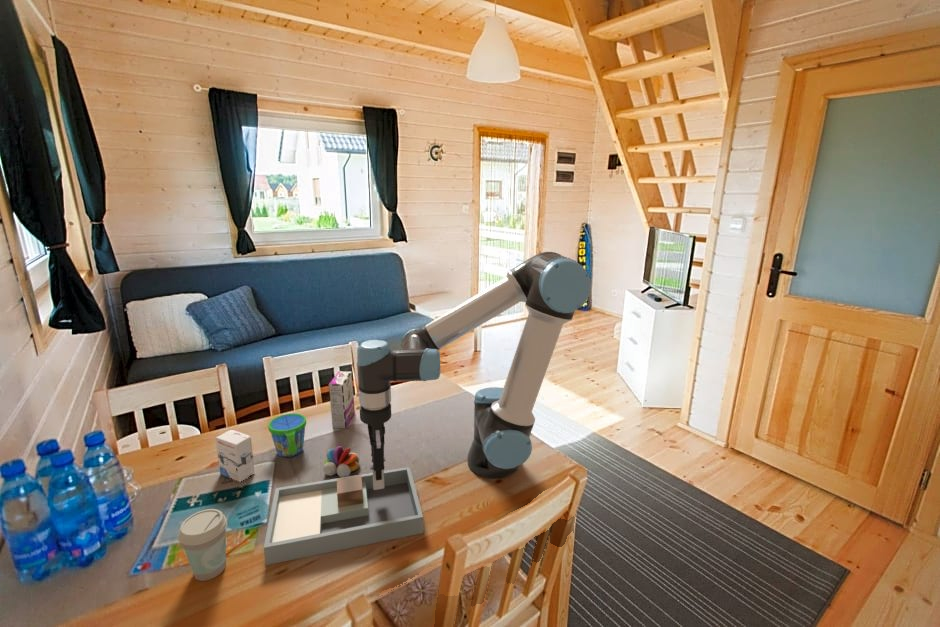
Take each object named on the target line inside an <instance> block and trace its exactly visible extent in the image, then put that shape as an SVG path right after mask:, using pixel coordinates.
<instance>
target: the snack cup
mask: <svg viewBox="0 0 940 627" xmlns="http://www.w3.org/2000/svg"><path fill="white" fill-rule="evenodd" d="M306 425H307V418H306V417H305V416H304V415H303V414H300V413H295V412H294V413H285V414H280V415H278V416H276V417H274V418H273V419H271V420H270V421H269V423H268V425H267V426H268V431H269V433H270V434H271V438H272V441H273V444H274V448H275V451H276V454H277V455H278V456H279V457H280V458H281V457H284V458H291V457H294V456H296V455H298V454H300V453H301V452H303V450H304V445H305V433H306Z"/></svg>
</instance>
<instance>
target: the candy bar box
mask: <svg viewBox="0 0 940 627" xmlns="http://www.w3.org/2000/svg"><path fill="white" fill-rule="evenodd" d="M353 386H354V385H353V373H352V371H348V370H347V371H346V370H339V371H338V372H337V373H336V374H335V376H334V377H333V378H332V379H331V381H330V382H329V383H328V390H329V391H328V392H329V401H330V409H331V410H330V412H331V424H332V425H331V426H332V429H338V430H339V429H340V430H341V429H343V430H344V429H345V430H346V429H347V428H348V426H349V424H350V422H351V420H352V418H353V417H354V415H355V413H356V411H355V398H354V387H353Z"/></svg>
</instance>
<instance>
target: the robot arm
mask: <svg viewBox="0 0 940 627" xmlns="http://www.w3.org/2000/svg"><path fill="white" fill-rule="evenodd" d="M591 288H592V287H591V279H590V276H589V274H588V272H587V270H586V269H585V268H584V266H582V265H581V264H580V263H579V262H577V260H575V259H572V258H570V257H566V256H564V255H562V254H560V253H558V252H554V251H544V252H540V253H538V254H537V253H536V254H535V255H533V256H531V257H529V258H528V259H526V260H524V261H523V262H521V263H519V264H517V265H516V266H515V267H513V268H511V269H510V270H508V271H507V274H506V276H505V277H504V278H502V279H501V280H499V281H497V282H496V283H493V284H492V285H491V286H489V287H487V288H485V289H484V290H482V291H480V292H479V293H478V294H476V295H473V296H472V297H471V298H469V299H467V300H465V301H464V302H462V303H460V304H458V305H457V306H455V307H454V308H452V309H450V310H449V311H446V312H445V313H444V314H442V315H440V316H439V317H437V318H435V319H433V320H432V321H430V322H429V323H427V324H426V325H423V326H422V327H420V328H411V329H409V330H408V331H407V332H406V333H405V334H404V335H403V337H402V340H401V344H400V345H401V349H391V347H390V344H389V343H388V341H385V340H383V339H382V340H381V339H369V340H365V341H362V342H361V343H360V344H359V345H358V346H357V348H356V354H357V355H356V370H357V383H358V385H357V386H358V392H356V393H355V395H356V397H358V400H359V407H358V408H359V419H360V422H361V423H363V424H365V425H367V431H368V437H369V438H368V439H369V443H370V447H371V448H370V451H371V453H370V456H371V457H372V458H371V463H372V465H369V470H372V472H371V473H373V489H374V490H378V489H384V471H385V462H386V458H385V435H386V426H385V423H387V422H388V421H390V420H391V418H392V387H391V386H392V385H391V383H392V382H428V381H436V380H438V379H439V378H440V377H441V354H440V350H441V349H442V348H444V347H445V346H448V345H449V344H451V343H453V342H454V341H456V340H458V339H460V338H461V337H463V336H465V335H466V334H469V333H470V332H472V331H473V330H475V329H476V328H478V327H480V326H482V325H483V324H485V323H487V322H488V321H491V320H492V319H493V318H495V317H497V316H498V315H500V314H502V313H504V312H506V311H507V310H509V309H511V308H512V307H513V306H516V305H517V304H519V303H521V302H522V303H525V308H526V309H527V311H528V315H527V317H526V319H525V320H526V321H525V323H524V326H523V329H522V333H521V335H520V338H519V341H518V344H517V348H516V350H515V352H514V356H513V359H512V362H511V365H510V367H509V371H508V374H507V376H506V380H505V382H504V385H503V387H496V386H493V387H485V388H482V389H479V390H477V392H475V394H474V400H473V404H474V407H473V408H474V410H473V411H474V412H473V413H474V416H473V417H474V418H473V440H472V442H471V445H470V447H469V450H468V453H467V466H468V469H470V471H471V472H473V473H474V472H475V474H476V473H477V474H476V475H478V474H479V475H478V476H480V475H481V477H483V476H484V478H489V479H500V478H505V477H508V476H511V475H513V474H514V473H515V472H516V471H517V470H518V468H519V466H522V465H524V464H525V463H526V461H528V460H529V458H530V456H531V454H532V449H533V446H532V444H533V442H532V439H531V438H530V436H531V433H532V430H533V428H534V425H535V422H536V417H535V416H534V413H533V409H534V406H535V403H536V400H537V398H538V394H540V393H539V392H540V390H541V388H542V384H543V381H544V379H545V376H546V373H547V370H548V369H549V368H548V367H549V364H550V362H551V359H552V357H553V354H554V351H555V348H556V345H557V342H558V339H559V337H560V334H561V331H562V329H563V326H564V325H565V324H567V323H569V322H571V321H572V320H573V317H574V315H575V312H577V310H578V309H579V308H580V309H581V308H582V307H583V306H584V305H585V303H586V302H587V301H588V298H589V296H590V294H591ZM512 473H513V474H512Z"/></svg>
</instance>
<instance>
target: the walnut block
mask: <svg viewBox="0 0 940 627" xmlns="http://www.w3.org/2000/svg"><path fill="white" fill-rule="evenodd" d="M356 475H357V474H356ZM361 475H362V474H358V475H357V476H355V475H350V476H351V477H349V476H347V477H345V478H342V477H339V478H338V477H337V478H338V479H337V478H336V479H337V499H338V508H340V507H345V506H351V505H356V504H362V503H363V489H362V478H361Z"/></svg>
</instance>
